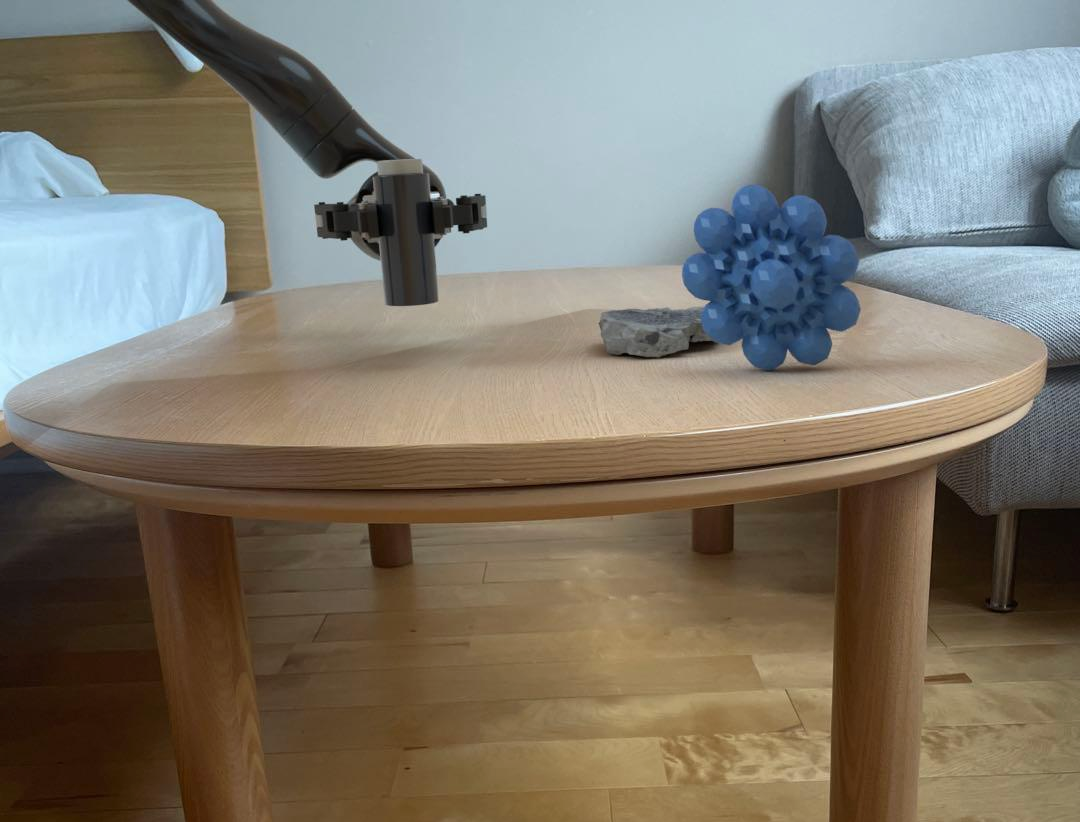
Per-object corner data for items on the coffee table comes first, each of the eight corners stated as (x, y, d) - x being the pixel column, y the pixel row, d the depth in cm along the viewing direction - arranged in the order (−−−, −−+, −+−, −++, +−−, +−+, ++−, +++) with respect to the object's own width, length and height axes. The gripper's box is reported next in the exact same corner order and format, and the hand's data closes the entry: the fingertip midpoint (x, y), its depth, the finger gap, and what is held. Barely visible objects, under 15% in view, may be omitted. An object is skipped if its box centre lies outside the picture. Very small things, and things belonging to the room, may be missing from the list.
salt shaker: (385, 307, 76) (371, 160, 72) (384, 301, 79) (371, 162, 76) (440, 303, 76) (429, 158, 73) (437, 298, 80) (425, 159, 77)
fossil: (684, 321, 74) (569, 289, 79) (671, 377, 76) (559, 342, 81) (749, 317, 84) (642, 288, 88) (736, 366, 85) (632, 336, 90)
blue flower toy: (681, 384, 68) (680, 189, 64) (682, 365, 74) (681, 187, 70) (867, 380, 66) (878, 179, 62) (852, 361, 72) (861, 178, 68)
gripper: (309, 170, 87) (296, 168, 71) (478, 162, 89) (503, 158, 73) (319, 263, 89) (309, 281, 73) (484, 253, 91) (510, 268, 75)
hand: (406, 220), depth 73 cm, fingers closed on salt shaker, 4 cm apart
